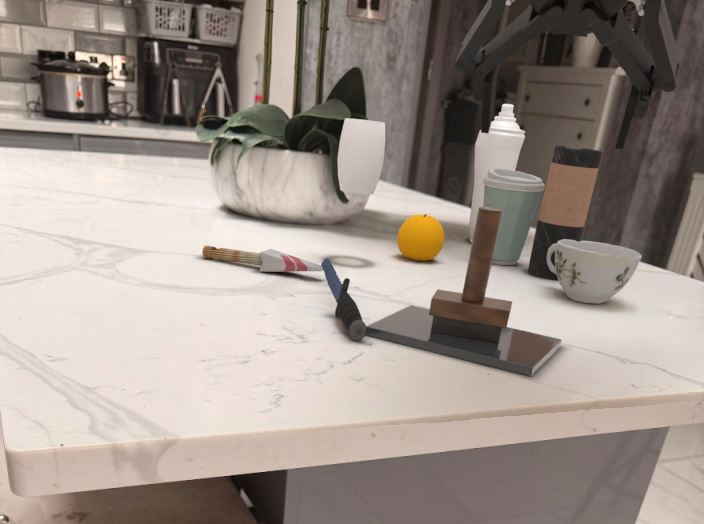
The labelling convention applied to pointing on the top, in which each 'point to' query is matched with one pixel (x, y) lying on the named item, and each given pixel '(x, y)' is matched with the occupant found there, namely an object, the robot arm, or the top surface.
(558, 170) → the travel mug
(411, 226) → the orange
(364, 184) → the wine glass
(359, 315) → the knife
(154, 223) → the top surface
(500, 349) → the slate board
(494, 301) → the brush
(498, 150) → the spray can
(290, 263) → the paintbrush
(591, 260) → the teacup
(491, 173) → the disposable coffee cup
